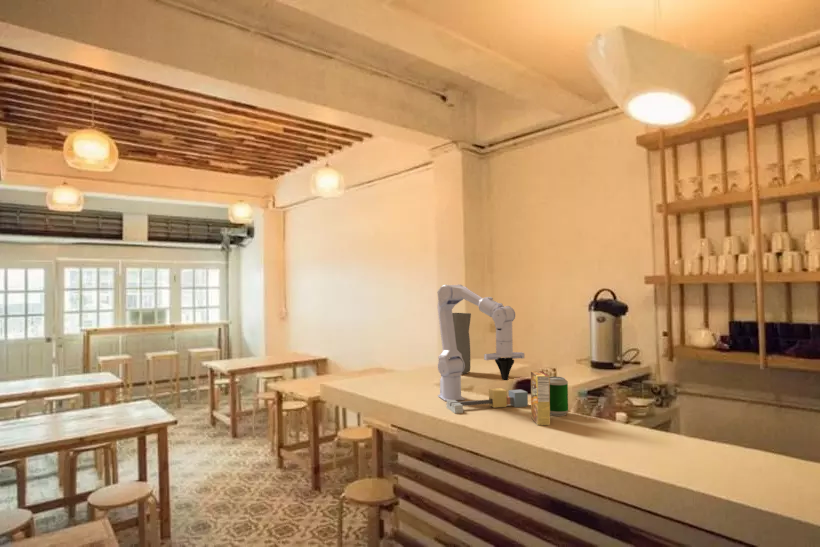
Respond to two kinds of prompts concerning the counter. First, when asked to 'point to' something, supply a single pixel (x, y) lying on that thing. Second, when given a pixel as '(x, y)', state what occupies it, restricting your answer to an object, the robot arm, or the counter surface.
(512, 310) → the robot arm
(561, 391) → the soda can
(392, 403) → the counter surface
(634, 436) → the counter surface
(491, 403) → the red-tipped gray rod
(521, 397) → the block
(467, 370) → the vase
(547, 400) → the candy box
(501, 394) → the sleeve
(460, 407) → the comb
